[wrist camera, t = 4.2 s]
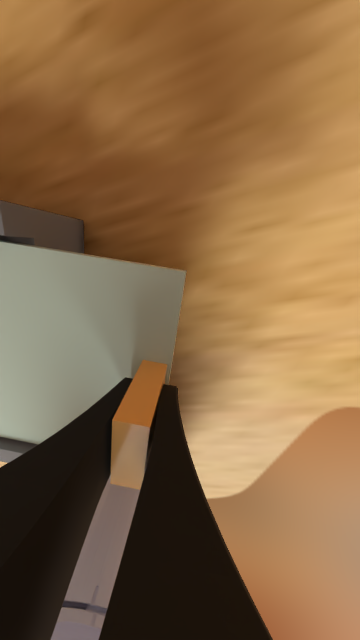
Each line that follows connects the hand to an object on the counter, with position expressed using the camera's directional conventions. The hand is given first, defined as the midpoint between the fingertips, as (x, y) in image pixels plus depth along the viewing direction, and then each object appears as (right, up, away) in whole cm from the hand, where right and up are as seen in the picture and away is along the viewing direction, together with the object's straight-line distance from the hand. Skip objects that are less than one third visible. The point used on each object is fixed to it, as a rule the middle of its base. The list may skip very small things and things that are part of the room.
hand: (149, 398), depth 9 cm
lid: (-7, +2, +1) cm, 8 cm away
